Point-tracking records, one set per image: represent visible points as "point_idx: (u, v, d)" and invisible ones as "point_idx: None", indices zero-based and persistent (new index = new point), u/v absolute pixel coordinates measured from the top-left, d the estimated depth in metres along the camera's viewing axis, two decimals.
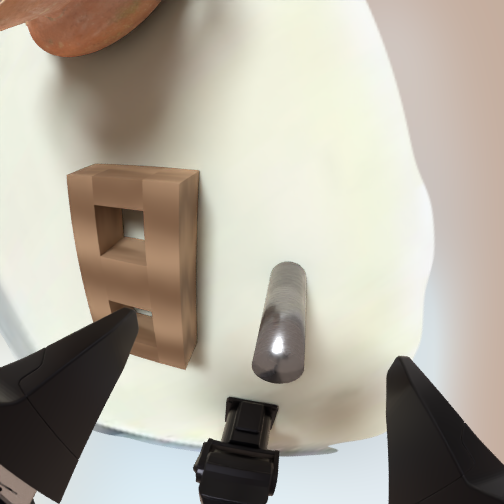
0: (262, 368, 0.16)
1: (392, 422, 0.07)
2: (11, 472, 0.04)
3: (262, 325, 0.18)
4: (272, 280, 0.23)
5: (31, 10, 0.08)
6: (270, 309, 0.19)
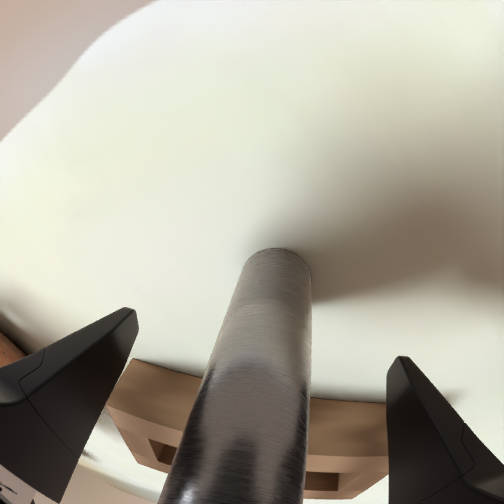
0: None
1: (392, 422, 0.07)
2: (11, 472, 0.04)
3: None
4: None
5: None
6: None
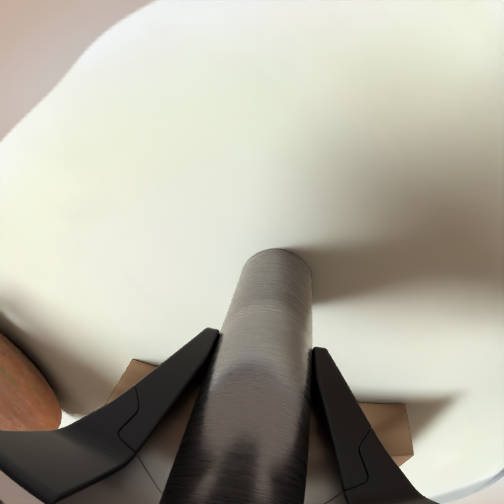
0: None
1: None
2: None
3: None
4: None
5: None
6: None
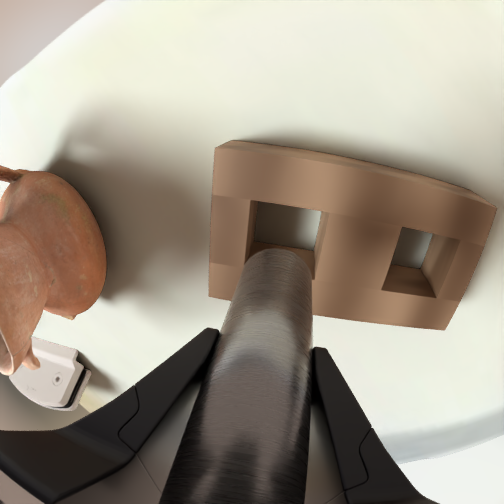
0: None
1: None
2: None
3: None
4: None
5: (15, 281, 0.15)
6: None
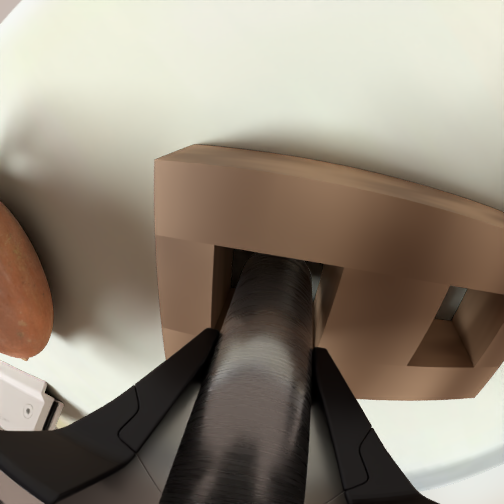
0: None
1: None
2: None
3: None
4: None
5: None
6: None
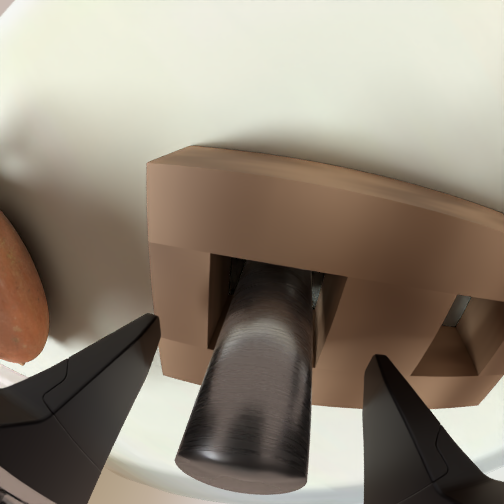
0: (246, 488, 0.06)
1: (368, 422, 0.07)
2: (35, 490, 0.03)
3: None
4: None
5: None
6: None
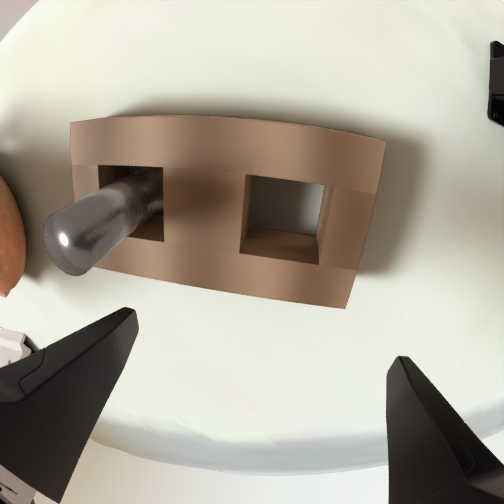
0: (73, 264, 0.11)
1: (392, 422, 0.07)
2: (11, 472, 0.04)
3: None
4: None
5: None
6: None
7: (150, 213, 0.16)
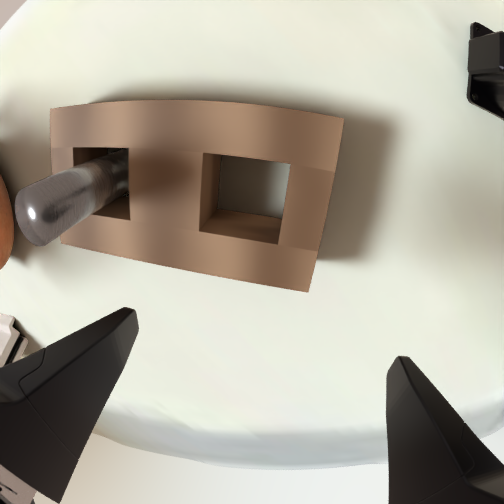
0: (38, 235, 0.11)
1: (392, 422, 0.07)
2: (11, 472, 0.04)
3: None
4: None
5: None
6: None
7: (117, 192, 0.16)
